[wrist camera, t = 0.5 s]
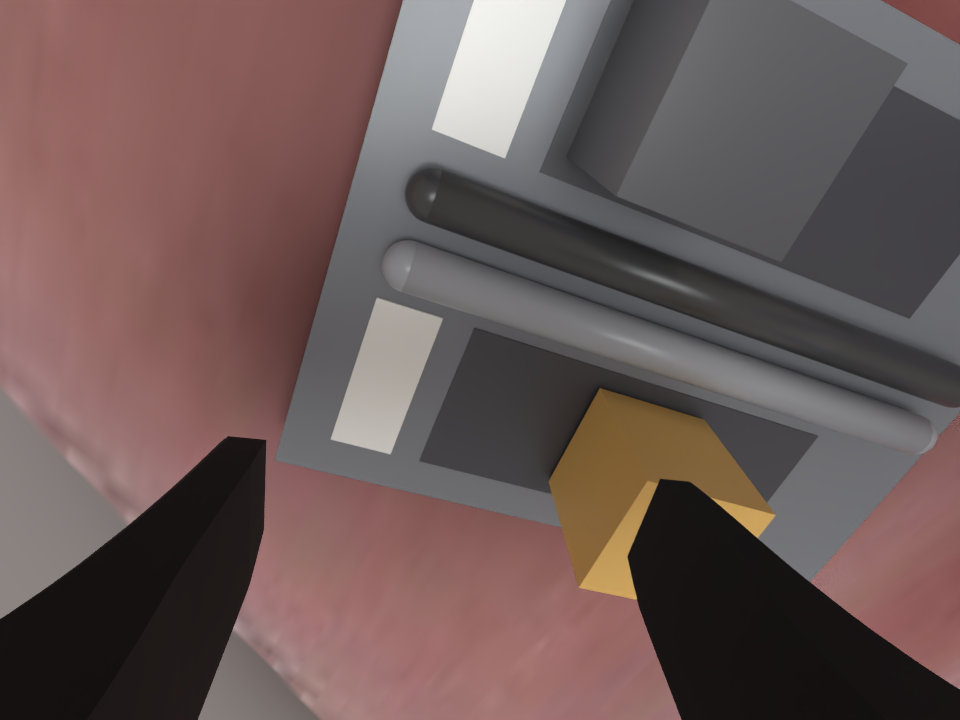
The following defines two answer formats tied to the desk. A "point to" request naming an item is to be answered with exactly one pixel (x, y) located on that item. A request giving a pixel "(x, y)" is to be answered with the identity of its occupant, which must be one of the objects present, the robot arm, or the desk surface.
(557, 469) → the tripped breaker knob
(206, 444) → the desk surface
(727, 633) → the robot arm
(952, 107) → the slider rail fixture
